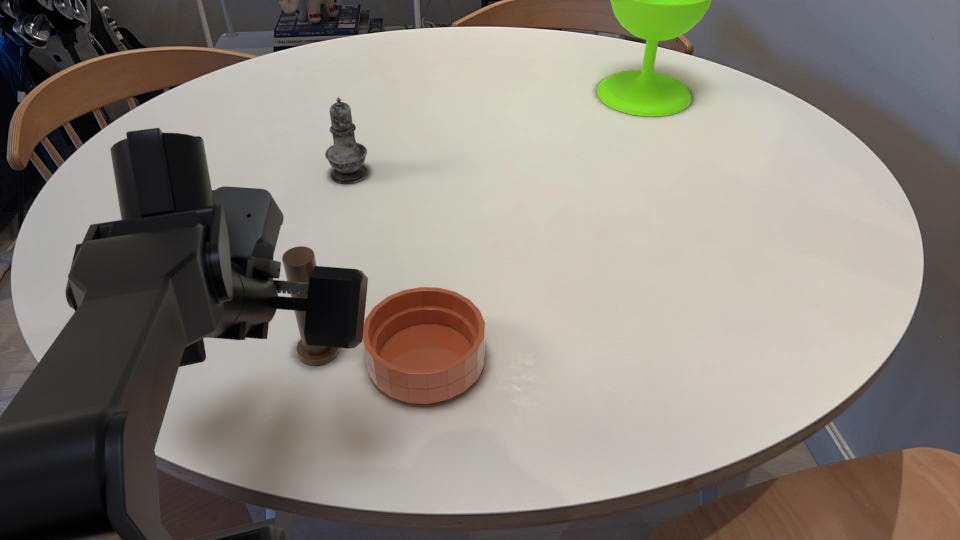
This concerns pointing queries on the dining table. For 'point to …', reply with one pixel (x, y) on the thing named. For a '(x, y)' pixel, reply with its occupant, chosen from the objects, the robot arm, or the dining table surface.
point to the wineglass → (651, 57)
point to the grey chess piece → (345, 147)
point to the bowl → (424, 344)
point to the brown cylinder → (299, 270)
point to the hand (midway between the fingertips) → (284, 303)
